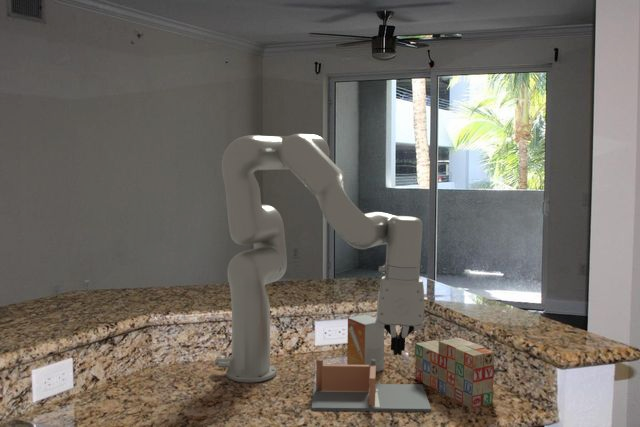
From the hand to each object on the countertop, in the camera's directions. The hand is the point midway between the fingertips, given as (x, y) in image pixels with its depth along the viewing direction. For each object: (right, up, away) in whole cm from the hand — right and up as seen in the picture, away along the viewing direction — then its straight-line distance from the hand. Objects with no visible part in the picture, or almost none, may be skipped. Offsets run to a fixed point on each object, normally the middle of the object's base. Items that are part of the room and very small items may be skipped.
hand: (397, 353), depth 146 cm
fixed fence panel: (-12, -10, +7) cm, 17 cm away
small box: (-5, -9, +25) cm, 27 cm away
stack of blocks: (+14, -11, +8) cm, 20 cm away
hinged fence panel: (-5, -10, +2) cm, 12 cm away
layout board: (-6, -11, +4) cm, 13 cm away
